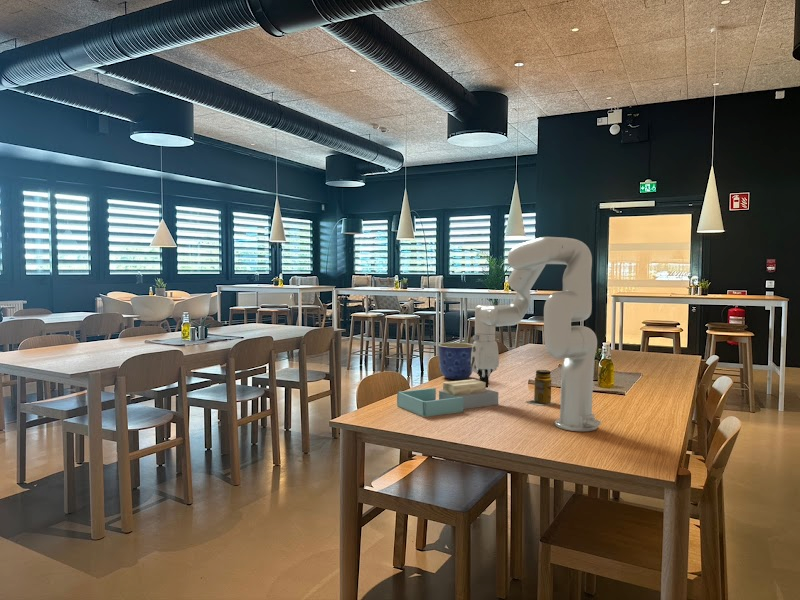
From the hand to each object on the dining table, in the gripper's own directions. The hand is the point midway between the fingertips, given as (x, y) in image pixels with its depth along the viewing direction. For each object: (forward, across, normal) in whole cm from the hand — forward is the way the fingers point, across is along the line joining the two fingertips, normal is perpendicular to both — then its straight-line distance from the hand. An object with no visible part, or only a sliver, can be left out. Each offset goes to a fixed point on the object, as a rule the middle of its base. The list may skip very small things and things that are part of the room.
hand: (483, 387), depth 210 cm
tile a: (+1, -6, 0) cm, 6 cm away
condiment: (+6, +18, -11) cm, 22 cm away
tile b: (+1, -13, 0) cm, 13 cm away
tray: (+6, -24, 0) cm, 25 cm away
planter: (+6, +18, +44) cm, 48 cm away
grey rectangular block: (+6, -7, 0) cm, 9 cm away
